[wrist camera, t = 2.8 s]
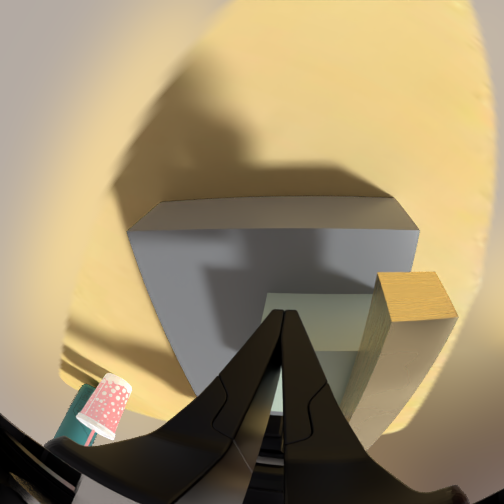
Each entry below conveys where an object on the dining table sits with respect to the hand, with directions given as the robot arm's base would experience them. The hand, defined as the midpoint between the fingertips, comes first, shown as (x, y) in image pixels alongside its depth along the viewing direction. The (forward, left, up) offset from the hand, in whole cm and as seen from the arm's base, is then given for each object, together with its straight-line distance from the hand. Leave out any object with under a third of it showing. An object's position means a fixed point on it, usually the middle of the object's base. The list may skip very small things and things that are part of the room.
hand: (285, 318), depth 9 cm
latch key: (-6, -4, -3) cm, 8 cm away
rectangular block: (-5, -2, -4) cm, 6 cm away
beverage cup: (-25, +25, -8) cm, 36 cm away
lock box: (-7, +1, -8) cm, 11 cm away
